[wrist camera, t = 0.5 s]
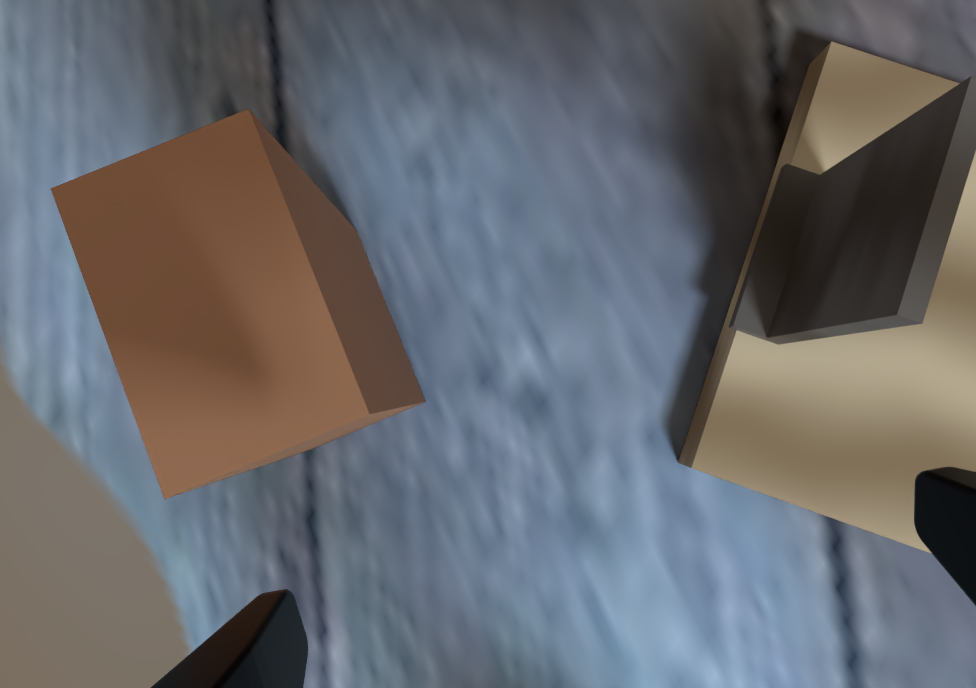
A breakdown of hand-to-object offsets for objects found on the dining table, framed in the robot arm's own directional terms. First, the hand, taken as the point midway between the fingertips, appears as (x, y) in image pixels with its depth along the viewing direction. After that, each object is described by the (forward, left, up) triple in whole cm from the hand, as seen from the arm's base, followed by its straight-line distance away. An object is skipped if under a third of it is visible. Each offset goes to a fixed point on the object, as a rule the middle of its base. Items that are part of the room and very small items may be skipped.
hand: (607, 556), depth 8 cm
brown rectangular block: (+4, +8, -14) cm, 16 cm away
